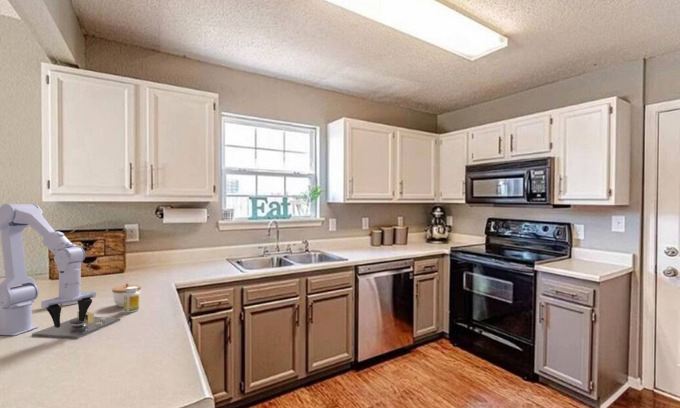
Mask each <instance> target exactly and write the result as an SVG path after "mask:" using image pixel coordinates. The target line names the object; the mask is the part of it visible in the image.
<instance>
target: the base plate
mask: <svg viewBox="0 0 680 408" xmlns="http://www.w3.org/2000/svg"><path fill="white" fill-rule="evenodd" d="M70 320H71V319H69V320H66V321H63V322H60V327H59V328H56V327H54V325H52V326H50V327H47V328H45V329H41V330H39V331H35V332H33V333H31V336H32V337H42V338H45V337H46V338H56V339H57V338H59V339H60V338H61V339H71V340H72V339H73V340H77V339H80V338H83V337H84V336H88V335H90V334H92V333H94V332H96V331H98V330H101V329H103V328H105V327H109V326H110V325H112V324H115V323H117V322H120V321H121V317H104V316H94V322H93V323H89V324H87V323H79V324H70Z"/></svg>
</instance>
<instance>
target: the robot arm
mask: <svg viewBox="0 0 680 408" xmlns="http://www.w3.org/2000/svg"><path fill="white" fill-rule="evenodd" d="M29 227H31V229H33V230H34V231H35V232H37V233H38V234H39V235H40V236H42V244H44V246H45V247H46V248H47V249H48V250H49V251H50V252H51V253H52V254H53V255H54V257H53V260H54V263H55V264H56V270H57V271H58V296H57V297H53V298H50V299H46V300H41V302H40V303H41V304H40V306H41V308H43V309H46V311H47V312H48V313H49V315H50V317H51V319H52V322H53V326H54V327H56V328H59V327H60V323H61V314H62V313H61V311H62V307H61V306H60V305H62V304H64V303H68V302H73V301H78V303H77V305H78V312H79V321H84V319H85V315H86V312H88V310H89V308H90V306H91V304H92V303H93V299H95V298H96V294H97V293H96V291H94V290H93V291H86V292H81V291H82V290H81V289H82V288H81V287H82V285H81V283H82V281H81V279H82V278H81V277H82V274H81V273H82V272H81V271H82V269H81V268H82V262H83V261H84V260H85V259H86V252H85V249H84V248H83V247H82V246H81V245H76V244H74V243H72V242H71V241H70V239H68V238H67V236H65V234H64V232H61V231H58V230H57V231H55V230H54V228H53V227H52V226H51V224H49V222H48V221H47V219H46V218H45V217H44V216H43V209H41V208H40V206H39V205H38V204H37V203H3V204H2V205H0V243H1V252H2V259H3V267H4V275H5V276H4V277H5V279H4V280H3V281H1V282H0V335H2V336H19V335H21V334H24V333H26V332H29V331H32V330H35V329H37V328H39V325H32V316H33V315H32V313H33V310H32V309H33V307H32V304H34V303H35V300H36V299H37V298H38V297H39V293H40V291H39V287H38V286H37V284H36V280H35V279H34V278H33V277H30V276H28V273H27V267H26V258H25V249H24V242H23V241H24V240H23V234H22V232H23V231H24V229H25V228H29Z"/></svg>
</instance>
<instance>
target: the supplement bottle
mask: <svg viewBox="0 0 680 408" xmlns="http://www.w3.org/2000/svg"><path fill="white" fill-rule="evenodd" d="M126 292H127V293H125V294H124V307H123V312H124V313H126V314H127V313H134V312H138V311H139V310H140V298H139V292H137V287H135V286H134V287H127V288H126Z"/></svg>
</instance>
